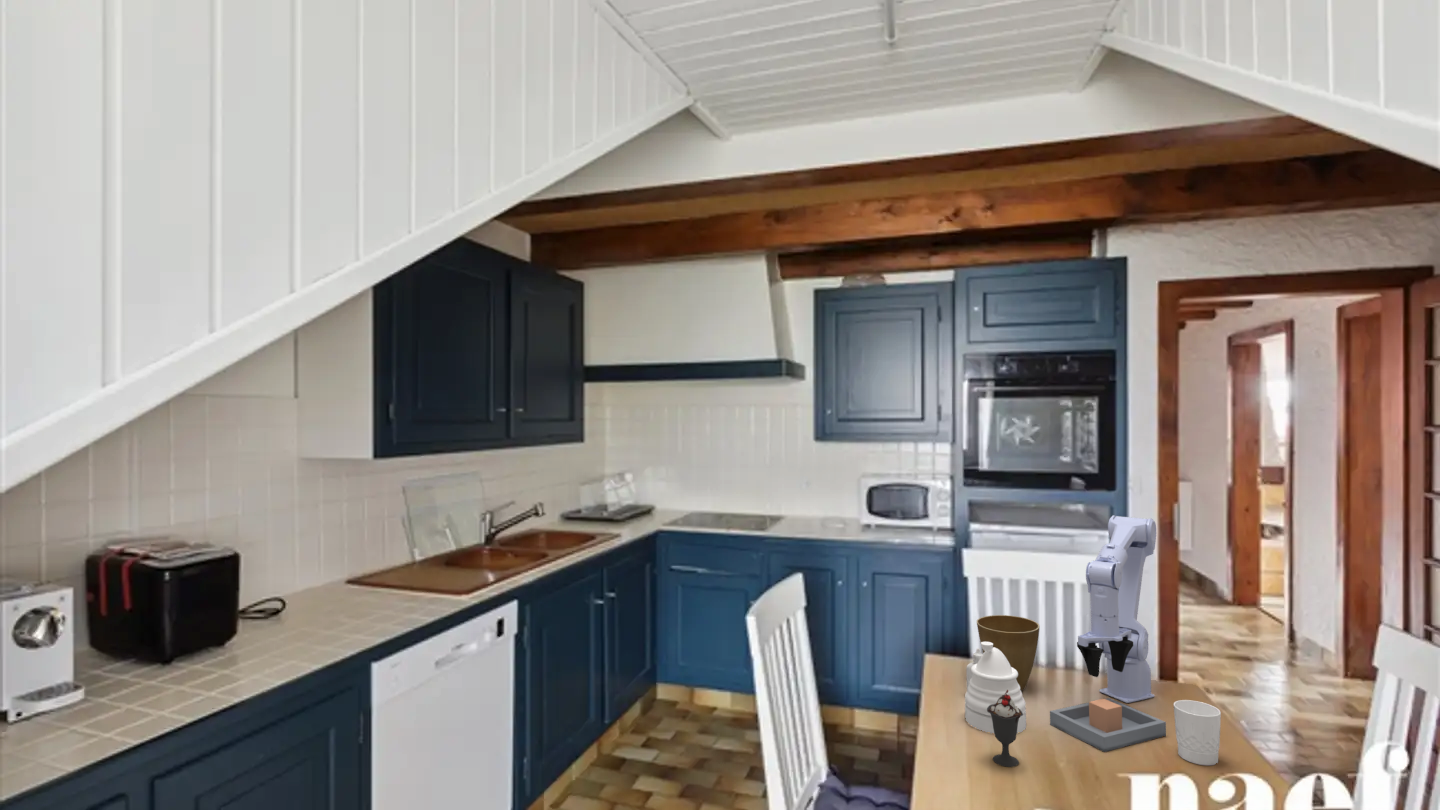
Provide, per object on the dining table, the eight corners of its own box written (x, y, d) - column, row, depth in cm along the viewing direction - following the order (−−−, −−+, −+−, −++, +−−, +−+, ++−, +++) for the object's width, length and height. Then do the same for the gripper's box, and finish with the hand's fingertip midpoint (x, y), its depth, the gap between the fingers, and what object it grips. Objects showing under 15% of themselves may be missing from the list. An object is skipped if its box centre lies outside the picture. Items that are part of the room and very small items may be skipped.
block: (1104, 720, 160) (1103, 698, 160) (1122, 729, 155) (1121, 706, 155) (1089, 724, 158) (1088, 701, 158) (1107, 733, 154) (1106, 709, 154)
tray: (1109, 710, 166) (1108, 697, 166) (1166, 735, 153) (1165, 722, 153) (1050, 724, 160) (1049, 711, 160) (1104, 752, 147) (1104, 737, 147)
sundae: (1008, 772, 139) (1006, 695, 139) (981, 758, 145) (979, 683, 145) (1031, 764, 142) (1029, 688, 142) (1003, 750, 148) (1002, 677, 148)
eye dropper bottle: (977, 692, 178) (976, 643, 179) (994, 700, 173) (993, 650, 173) (964, 695, 177) (963, 646, 177) (981, 703, 171) (980, 653, 172)
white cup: (1214, 751, 146) (1213, 702, 146) (1227, 770, 139) (1226, 718, 139) (1170, 746, 149) (1169, 698, 149) (1180, 764, 141) (1179, 713, 141)
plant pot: (1008, 671, 192) (1007, 611, 192) (1054, 691, 178) (1053, 626, 178) (965, 680, 186) (964, 618, 186) (1008, 701, 172) (1007, 635, 172)
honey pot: (995, 739, 153) (993, 655, 153) (953, 716, 165) (951, 638, 165) (1039, 727, 158) (1037, 646, 158) (995, 706, 170) (994, 630, 170)
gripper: (1096, 622, 158) (1097, 683, 158) (1142, 614, 164) (1144, 674, 163) (1069, 614, 165) (1071, 673, 165) (1115, 606, 170) (1117, 664, 170)
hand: (1105, 673), depth 165 cm, fingers open, 7 cm apart
